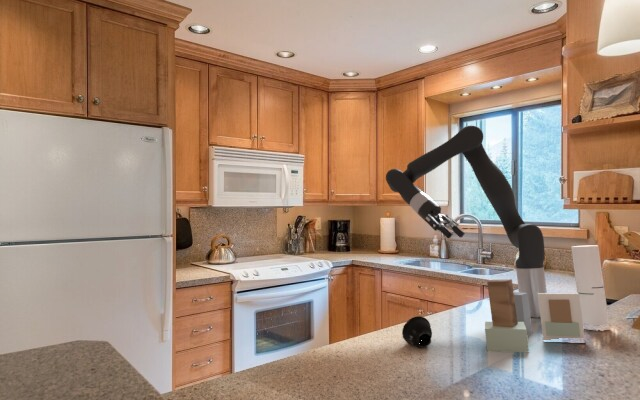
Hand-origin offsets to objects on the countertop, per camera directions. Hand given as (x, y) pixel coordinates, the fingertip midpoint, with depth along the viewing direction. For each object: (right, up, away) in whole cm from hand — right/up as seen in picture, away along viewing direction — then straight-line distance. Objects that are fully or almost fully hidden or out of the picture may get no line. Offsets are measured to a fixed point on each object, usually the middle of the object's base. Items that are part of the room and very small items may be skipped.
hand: (456, 236), depth 145 cm
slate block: (+13, -28, -18) cm, 36 cm away
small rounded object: (-18, -30, -20) cm, 41 cm away
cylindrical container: (+36, -27, -18) cm, 48 cm away
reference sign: (+20, -26, -30) cm, 44 cm away
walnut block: (+3, -22, -30) cm, 37 cm away
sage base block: (+3, -28, -31) cm, 42 cm away
